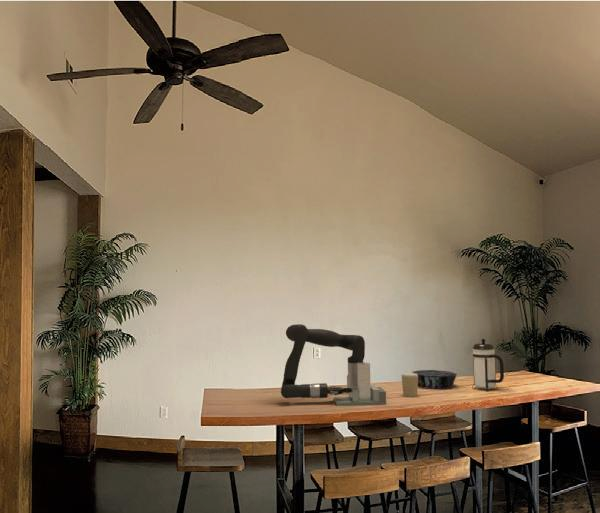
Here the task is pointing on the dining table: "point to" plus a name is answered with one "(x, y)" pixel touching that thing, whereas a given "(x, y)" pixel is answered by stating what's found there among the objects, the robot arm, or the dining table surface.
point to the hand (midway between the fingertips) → (350, 390)
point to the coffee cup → (410, 384)
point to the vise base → (376, 399)
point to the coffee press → (485, 366)
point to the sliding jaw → (353, 394)
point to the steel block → (364, 381)
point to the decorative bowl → (435, 379)
